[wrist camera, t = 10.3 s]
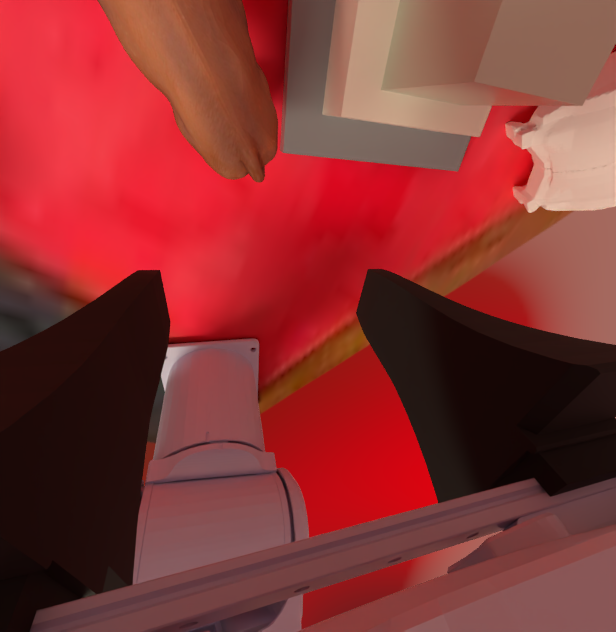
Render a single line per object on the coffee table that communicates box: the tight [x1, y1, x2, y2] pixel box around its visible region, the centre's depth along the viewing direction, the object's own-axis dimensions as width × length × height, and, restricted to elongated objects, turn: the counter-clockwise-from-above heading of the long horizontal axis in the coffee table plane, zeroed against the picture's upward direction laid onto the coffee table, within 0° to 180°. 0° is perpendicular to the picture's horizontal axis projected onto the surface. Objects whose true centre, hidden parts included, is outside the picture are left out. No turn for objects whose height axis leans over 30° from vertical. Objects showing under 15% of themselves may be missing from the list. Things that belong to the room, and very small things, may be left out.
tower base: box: [280, 0, 492, 171], centre depth 13 cm, size 13×12×4 cm
